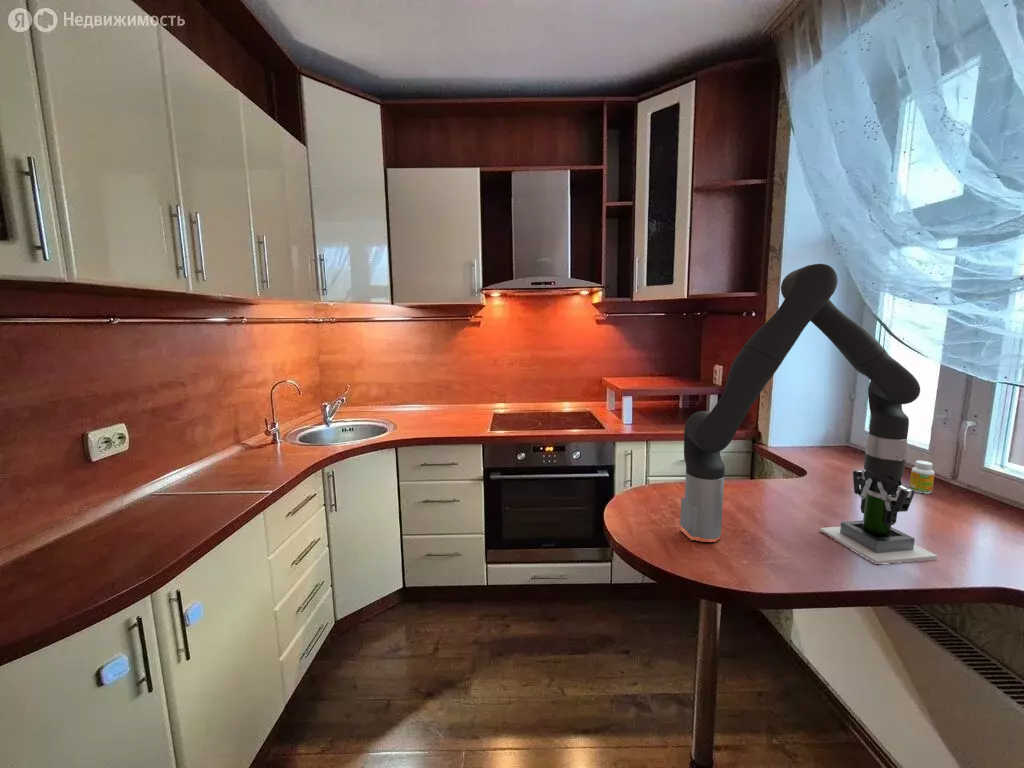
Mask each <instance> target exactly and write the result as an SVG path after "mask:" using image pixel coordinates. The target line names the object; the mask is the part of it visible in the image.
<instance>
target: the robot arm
mask: <svg viewBox="0 0 1024 768" xmlns="http://www.w3.org/2000/svg"><path fill="white" fill-rule="evenodd" d="M838 280H839V279H838V274H837V272H836V270H835V269H834V268H833V266H831V265H829V264H825V263H814V264H808V265H805V266H803V267H801V268H797V269H795V270H793V271H792V272H790V273H788V274H787V275H786V276H785V277H784V278H783V279H782V282H781V285H780V292H781V295H782V297H783V299H784V300H783V301H782V303H781V304H780V306H779V308H778V309H777V310H776V312H775V313H774V314H773V315H772V316H771V317H770V318H769V319H768V320H767V321H766V322H764V324H763V325H761V326H760V327H759V329H757V330H756V331H755V332H754V333H753V335H751V336H750V338H749V339H748V340H747V341H746V342H745V343H744V345H743V347H742V348H741V350H740V351H739V353H737V355H736V357H735V358H734V360H733V362H732V363H731V365H730V369H729V371H728V375H727V379H726V384H725V387H724V389H723V392H722V395H721V397H720V398H719V400H718V401H717V403H716V404H715V405H714V407H713V408H712V409H711V410H710V411H706V410H700V411H695V412H694V413H692V414H691V415H690V416H689V417H688V418H687V420H686V422H685V424H684V431H683V432H684V433H683V458H684V463H685V479H684V481H685V482H684V483H685V484H684V497H681V498H680V499H681V500H680V521H679V522H680V523H679V526H680V525H681V526H682V527H683V528H684V529H685V530H686V531H687V532H688V533H689V534H690V535H691V536H692V537H694V536H695V537H700V538H705V539H716V538H718V537H720V535H721V536H722V520H723V508H724V507H723V503H724V487H725V486H724V485H725V473H726V471H725V470H726V466H725V463H724V462H723V459H722V456H721V452H722V451H723V450H724V449H726V448H727V447H728V446H729V445H730V443H731V442H732V441H733V439H734V437H735V435H736V433H737V431H738V430H739V428H740V425H741V424H742V422H743V420H744V419H745V417H746V416H747V413H748V412H749V410H750V409H751V407H752V405H753V404H754V403H755V401H756V400H757V398H758V397H759V396H760V394H761V392H762V391H763V390H764V388H765V386H766V385H767V384H768V382H769V381H770V380H771V379H772V377H774V374H775V373H776V372H777V370H778V369H779V367H781V365H782V363H783V362H784V359H785V358H786V357H787V355H788V354H789V352H790V351H791V349H792V348H793V346H795V344H796V342H797V340H799V338H800V336H801V334H802V333H803V331H804V329H806V327H807V326H808V324H809V323H810V322H811V323H812V324H813V325H814V326H815V327H816V328H817V329H819V331H821V332H822V333H823V334H824V336H825V337H827V339H828V340H829V341H830V342H831V343H832V344H833V345H834V346H835V348H837V350H838V351H839V352H840V353H841V355H843V356H844V358H845V359H846V360H847V361H848V363H849V364H850V365H851V366H852V367H853V368H854V369H855V371H857V372H858V373H860V374H862V375H863V376H865V377H867V378H868V379H869V380H870V381H869V383H868V384H869V385H868V388H867V396H868V397H867V398H868V406H869V407H868V408H869V411H870V422H869V430H868V436H867V440H866V445H865V454H864V462H863V469H864V470H853V472H852V481H853V492H854V494H856V495H858V496H859V497H860V499H861V501H860V512H861V514H863V515H864V508H865V500H866V492H867V491H868V489H872V490H874V491H877V492H880V493H881V497H882V500H883V501H884V502H885V506H886V509H887V510H885V515H884V524H886V525H891V526H894V525H895V524H896V523H897V517H898V513H901V512H902V513H903V512H908V511H909V508H910V505H911V503H912V500H913V498H914V495H915V494H916V492H914V490H913V489H910V488H907V487H905V486H903V483H902V480H901V479H902V477H903V476H904V475H905V467H906V461H907V451H908V434H909V426H910V420H909V417H908V415H907V414H906V413H905V412H904V411H903V406H902V405H907V404H911V403H913V402H915V401H916V400H917V399H918V397H919V396H920V393H921V387H920V383H919V381H918V380H917V379H916V377H915V376H914V375H913V374H912V373H911V372H910V371H909V370H908V369H906V367H904V366H903V365H902V364H901V363H900V362H898V361H897V360H896V359H894V358H893V357H892V356H891V355H889V353H888V352H887V350H886V349H885V348H884V347H883V346H882V345H881V343H880V342H879V341H878V340H877V339H876V337H874V335H873V334H872V333H871V332H870V331H868V329H866V328H865V327H864V326H862V325H860V323H858V322H856V321H855V320H853V319H852V318H851V317H850V316H848V315H847V314H845V313H844V312H843V311H842V310H840V309H839V308H838V307H837V306H836V305H835V304H834V303H833V301H832V300H831V297H832V296H833V295H834V293H835V292H836V289H837V287H838ZM888 495H893V497H891V498H889V497H888ZM891 501H893V504H891ZM892 505H893V506H892Z"/></svg>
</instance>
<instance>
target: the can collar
mask: <svg viewBox="0 0 1024 768" xmlns="http://www.w3.org/2000/svg"><path fill="white" fill-rule="evenodd" d="M862 525H863V519H862V520H852V521H849V520H847V521H841V522H840V526H841V528H840V533H841V534H843V535H845V536H847V537H848V538H850V539H852V540H854V541H855V542H857V543H859V544H861V545H863V546H864V547H866V548H868V549H870V550H871V551H873V552H875V553H885V552H896V551H907V550H913V548H914V544H915V537H913V536H911V535H909V534H906V533H905V532H902V531H900V530H898V529H897V528H895V527H892V526H891V531H890V537H883V538H876V537H874V536H873V535H871V534H869V533H867V532H865V531H863V530H862Z"/></svg>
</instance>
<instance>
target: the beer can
mask: <svg viewBox="0 0 1024 768" xmlns="http://www.w3.org/2000/svg"><path fill="white" fill-rule="evenodd" d="M888 497H889V498H891V497H893V495H888ZM891 504H893V501H891ZM892 506H893V505H892ZM885 510H887V509H886V506H885V502H884V501H883V500H882V497H881V493H880V492H877V491H874V490H872V489H868V491H867V492H866V500H865V508H864V514H863V516H862V517H863V518H862V520H863V525H862V530H863V531H865V532H867V533H869V534H871V535H873V536H874V537H876V538H883V537H890V531H891V527H892V525H886V524H884V515H885Z"/></svg>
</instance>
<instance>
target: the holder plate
mask: <svg viewBox="0 0 1024 768" xmlns="http://www.w3.org/2000/svg"><path fill="white" fill-rule="evenodd" d="M840 528H841V525H840V526H829V527H820V528H819V531H820V530H821V531H823V532H824V533H826V534H828V535H829V536H831V537H833V538H834V539H836V540H838V541H839V542H841V543H842V544H844V545H846V546H847V547H849V548H851V549H853V550H854V551H856V552H858V553H859V554H861V555H863V556H864V557H866V558H868V559H869V560H871V561H873V562H874V563H876V564H883V563H895V564H899V563H898V562H906V563H914V562H915V561H917V562H927V561H936V560H938V558H939V557H938V556H939V555H937V554H935V553H933V552H931V551H929V550H927V549H925V548H923V547H921V546H919V545H917V544H916V543H914V548H913V550H907V551H896V552H885V553H875V552H873V551H871V550H870V549H868V548H866V547H864V546H863V545H861V544H859V543H857V542H855V541H854V540H852V539H850V538H848V537H847V536H845V535H843V534H841V533H840ZM842 544H841V545H842ZM847 547H846V548H847Z"/></svg>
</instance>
